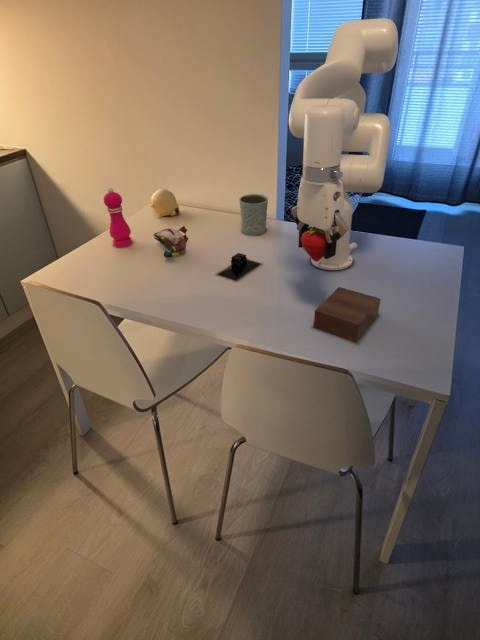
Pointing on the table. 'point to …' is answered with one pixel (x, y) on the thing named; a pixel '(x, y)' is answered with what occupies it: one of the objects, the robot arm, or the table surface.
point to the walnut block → (346, 313)
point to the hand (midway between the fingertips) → (316, 250)
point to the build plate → (238, 267)
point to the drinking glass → (253, 213)
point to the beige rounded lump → (164, 203)
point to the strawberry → (314, 243)
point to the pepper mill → (117, 220)
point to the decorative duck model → (172, 241)
